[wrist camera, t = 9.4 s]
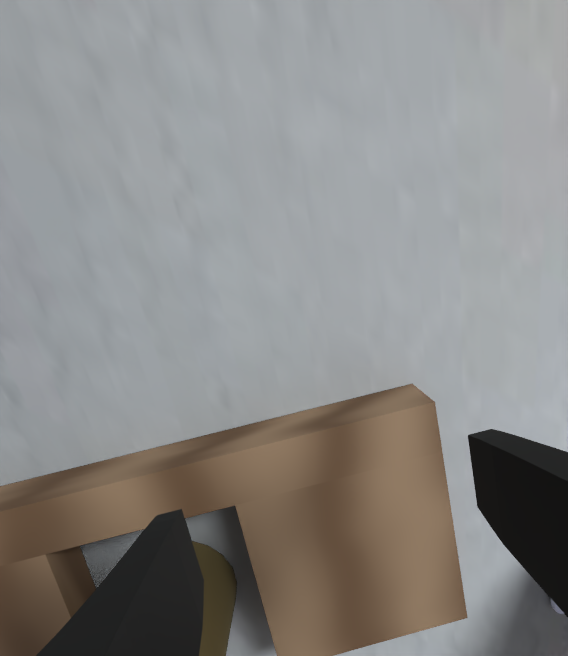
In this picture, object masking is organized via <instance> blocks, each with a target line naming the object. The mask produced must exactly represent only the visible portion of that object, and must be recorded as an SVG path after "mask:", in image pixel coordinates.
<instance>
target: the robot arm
mask: <svg viewBox="0 0 568 656" xmlns="http://www.w3.org/2000/svg"><path fill="white" fill-rule="evenodd" d="M468 440H469V447H470V454H471V462H472V469H473V477H474V484H475V491H476V499H477V506H478V508H479V510H480V511H481V513H482V514H483V516H484V517H485V519H486V520H487V522H488V523H489V524H490V526H491V527H492V529H493V530H494V532H495V533H496V534H497V536H498V537H499V539H500V540H501V541H502V543H503V544H504V545H505V547H506V548H507V549H508V550H509V551H510V552H511V554H512V555H513V556H514V557H515V558H516V559H517V560H518V562H519V563H520V564H521V565H522V566H523V567H524V568H525V570H526V571H527V572H528V573H529V574H530V575H531V576H532V578H533V579H534V580H535V581H536V582H537V583H538V584H539V585H540V587H541V588H542V589H543V590H544V591H545V592H546V593H547V594H548V596H549V597H550V598H551V606H552V608H553V609H554V610H555V611H556V612H557V613H559V614H565V615H566V616H567V617H568V452H565V451H562V450H559V449H556V448H553V447H550V446H547V445H544V444H540V443H537V442H534V441H531V440H528V439H525V438H522V437H519V436H515V435H512V434H509V433H505V432H501V431H497V430H493V429H490V430H486V431H482V432H478V433H474V434H470V435H468ZM203 606H204V579H203V575H202V572H201V569H200V566H199V563H198V559H197V556H196V553H195V550H194V547H193V543H192V540H191V537H190V534H189V531H188V527H187V524H186V521H185V518H184V515H183V511H182V509H179V510H175V511H171V512H167V513H163V514H160V515H156V517H155V518H154V519H153V520H152V521H151V522H150V523H149V525H148V526H147V527H146V528H145V530H144V531H143V532H142V533H141V535H140V536H139V537H138V538H137V540H136V541H135V542H134V543H133V545H132V546H131V547H130V548H129V550H128V551H127V552H126V554H125V555H124V556H123V557H122V558H121V560H120V561H119V562H118V563H117V565H116V566H115V567H114V568H113V570H112V571H111V572H110V573H109V575H108V576H107V577H106V578H105V579H104V581H103V582H102V583H101V584H100V585H99V587H98V588H97V589H96V590H95V591H94V592H93V593H92V595H91V596H90V597H89V598H88V599H87V600H86V601H85V603H84V604H83V605H82V606H81V607H80V608H79V609H78V611H77V612H76V613H75V614H74V615H73V616H72V617H71V619H70V620H69V621H68V622H67V623H66V624H65V625H64V627H63V628H62V629H61V630H60V631H59V632H58V633H57V634H56V635H55V636H54V637H53V638H52V639H51V640H50V641H49V643H48V644H47V645H46V646H45V647H44V648H43V649H42V650H41V651H40V652H39V653H38V654H37V655H36V656H199V651H200V644H201V636H202V628H203Z"/></svg>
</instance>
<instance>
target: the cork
mask: <svg viewBox="0 0 568 656" xmlns="http://www.w3.org/2000/svg"><path fill="white" fill-rule="evenodd" d="M192 543H193V547H194V550H195V553H196V556H197V559H198V563H199V566H200V569H201V572H202V575H203V579H204V606H203V628H202V636H201V644H200V651H199V656H226V651H227V645H228V639H229V634H230V628H231V622H232V617H233V611H234V605H235V600H236V589H237V581H236V578H235V574H234V571H233V568H232V566H231V565H230V564H229V563H228V561H227V560H226V559H225V558H224V556H223V555H222V554H220V553H219V552H217V551H216V550H214V549H212V548H211V547H209V546H207V545H204V544H200V543H197V542H193V541H192Z"/></svg>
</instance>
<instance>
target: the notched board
mask: <svg viewBox="0 0 568 656" xmlns="http://www.w3.org/2000/svg"><path fill="white" fill-rule="evenodd" d="M231 506H235V507H236V510H237V514H238V518H239V521H240V525H241V528H242V532H243V535H244V539H245V543H246V546H247V550H248V553H249V557H250V560H251V564H252V568H253V571H254V575H255V578H256V582H257V585H258V589H259V593H260V596H261V600H262V603H263V607H264V610H265V614H266V618H267V621H268V625H269V628H270V632H271V635H272V639H273V643H274V646H275V650H276V653H277V656H333V655H337V654H340V653H344V652H347V651H351V650H354V649H358V648H362V647H365V646H369V645H372V644H376V643H379V642H383V641H387V640H390V639H394V638H397V637H401V636H404V635H408V634H411V633H415V632H419V631H422V630H426V629H429V628H433V627H436V626H440V625H443V624H447V623H451V622H454V621H458V620H461V619H465V618H467V612H466V605H465V599H464V592H463V586H462V579H461V572H460V566H459V559H458V553H457V546H456V539H455V533H454V526H453V520H452V513H451V506H450V500H449V493H448V486H447V480H446V473H445V467H444V460H443V453H442V447H441V440H440V434H439V427H438V420H437V414H436V407H435V402H434V401H433V400H432V399H430V398H429V397H428V396H427V395H425V394H424V393H423V392H422V391H421V390H419V389H418V388H417V387H416V386H414V385H413V384H409V385H405V386H401V387H397V388H393V389H389V390H385V391H381V392H377V393H373V394H369V395H365V396H361V397H357V398H353V399H349V400H345V401H341V402H337V403H333V404H329V405H325V406H321V407H317V408H313V409H309V410H305V411H301V412H297V413H293V414H289V415H285V416H281V417H277V418H273V419H269V420H265V421H261V422H257V423H253V424H249V425H245V426H241V427H237V428H233V429H229V430H225V431H221V432H217V433H213V434H209V435H205V436H201V437H197V438H193V439H189V440H185V441H181V442H177V443H173V444H169V445H165V446H161V447H157V448H152V449H148V450H144V451H140V452H136V453H132V454H128V455H124V456H120V457H116V458H112V459H108V460H104V461H100V462H96V463H92V464H88V465H84V466H80V467H76V468H72V469H68V470H64V471H60V472H56V473H52V474H48V475H44V476H40V477H36V478H32V479H28V480H24V481H20V482H16V483H12V484H8V485H4V486H0V656H36V655H37V654H38V653H39V652H40V651H41V650H42V649H43V648H44V647H45V646H46V645H47V644H48V643H49V641H50V640H51V639H52V638H53V637H54V636H55V635H56V634H57V633H58V632H59V631H60V630H61V629H62V628H63V627H64V625H65V624H66V623H67V622H68V621H69V620H70V619H71V617H72V616H73V615H74V614H75V613H76V612H77V611H78V609H79V608H80V607H81V606H82V605H83V604H84V603H85V601H86V600H87V599H88V598H89V597H90V596H91V595H92V593H93V592H94V591H95V590H96V587H95V585H94V582H93V579H92V577H91V574H90V572H89V569H88V566H87V564H86V561H85V558H84V556H83V553H82V551H81V548H80V545H84V544H88V543H92V542H96V541H99V540H103V539H107V538H111V537H115V536H119V535H123V534H127V533H130V532H134V531H138V530H142V529H145V528H146V527H147V526H148V525H149V523H150V522H151V521H152V520H153V519H154V518H155V517H156V515H160V514H163V513H167V512H171V511H175V510H179V509H182V511H183V515H184V518H188V517H192V516H196V515H200V514H204V513H208V512H212V511H215V510H219V509H223V508H227V507H231Z"/></svg>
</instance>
